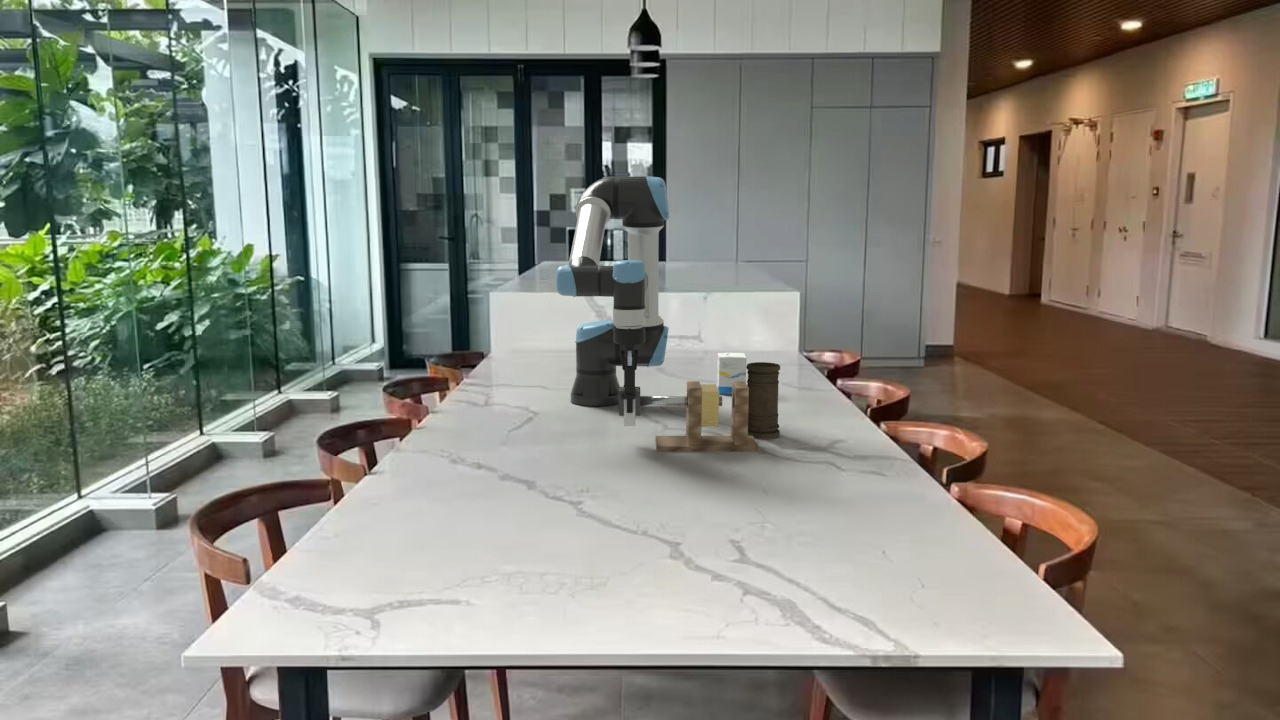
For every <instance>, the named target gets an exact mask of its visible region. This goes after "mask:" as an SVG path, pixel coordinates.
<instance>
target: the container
mask: <svg viewBox="0 0 1280 720" xmlns="http://www.w3.org/2000/svg"><path fill="white" fill-rule="evenodd" d="M780 370H781V365H780V364H778V363H774V362H763V361H762V362H761V361H758V362H757V361H756V362H749V363H746V374H747V379H746V384H747V386H748V388H749V404H748V436H753V437H754V439H755V440H756V439H758V440H771V439H776V438H778V437H779V436H780V433H781V431H780V424H779V412H778V411H779V407H778V406H779V383H780V382H779V375H780Z"/></svg>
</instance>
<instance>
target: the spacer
mask: <svg viewBox="0 0 1280 720" xmlns="http://www.w3.org/2000/svg"><path fill="white" fill-rule="evenodd" d="M700 385H701V387H702V414H701V428H702V427H703V428H704V427H705V428H706V427H707V428H708V427H711V428H712V427H713V428H714V427H715V428H717V427H718V428H719V420H720V419H719V410H720V406H719V396H720V395H719V390H718V388H717V383H716V384H708V383H707V384H703V383H702V384H701V383H700Z"/></svg>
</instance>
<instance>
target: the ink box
mask: <svg viewBox="0 0 1280 720" xmlns="http://www.w3.org/2000/svg"><path fill="white" fill-rule="evenodd" d="M716 362H717V367H716V386H717V388H718V390H719V396H721V395H731V396H732V382H745V383H746V384H747V368H746V366H747V356H746V354H745V352H718V353H717V361H716Z"/></svg>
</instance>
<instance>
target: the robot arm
mask: <svg viewBox="0 0 1280 720" xmlns="http://www.w3.org/2000/svg"><path fill="white" fill-rule="evenodd" d="M668 199H669V197H668V192H667V187H666V182H665V179H663V178H662V177H658V176H647V175H646V176H644V175H643V176H641V175H640V176H639V175H638V176H637V175H636V176H606V177H602V178H600V179H598V180H596V181H594V182H593V183H591V184H590V185H589V186H588V187H587V188H585V189H584V191H583V192H582V194H581V195H580V196H579V198H578V200H577V203H576V207H575V217H576V219H577V220H576V224H575V230H574V234H573V240H572V244H571V245H572V246H571V251H570V255H569V259H568V264H565V265H560V266H558V268H557V271H556V289H557V293H558V294H559V295H560V296H563V297H564V296H566V297H573V298H575V297H607V298H608V297H611V298H613V306H612V320H599V321H598V320H597V321H592V322H587V323H583V324H581V325H579V326H577V328H576V332H575V333H576V334H575V336H576V337H575V349H576V350H575V353H576V354H575V355H576V356H575V357H576V358H575V359H576V360H575V363H576V366H575V367H576V371H575V372H576V374H575V378H574V381H573V385H572V388H571V391H570V402H571V403H573V404H575V405H578V406H589V407H601V406H602V407H603V406H605V407H606V406H613V405H618V404H619V387H621V386H620V383H619V379H618V377H617V367H622V371H623V387H625V394H624V397H621V399H624V416H623V427H636V416H635V397H636V395H635V387H636V371H637V370H638V369H637V368H638V367H646V368H649V367H660V366H662V365H663V364H664V363H665V357H666V352H667V351H666V349H667V342H668V336H669V329H670V328H669V327H668V326H666V325H664V322H665V321H664V319H663V318H662V317H661V316H660V314H659V244H660V243H659V241H660V240H659V235H660V234H659V233H660V231H661V230H662V229H663V228H664V227H665V221H667V220H669V219H670V208H669V200H668ZM610 220H621V221H622V222H621V224H622V227H623V228H624V229H625V230H626V232H627V257H628V258H627V259H624V260H623V259H621V260H616V261H615V262H614V263H613V265H600V261H601V254H602V250H603V249H602V247H603V243H604V242H603V241H604V237H605V229H606V225H607V224H608V223H609V221H610Z"/></svg>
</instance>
